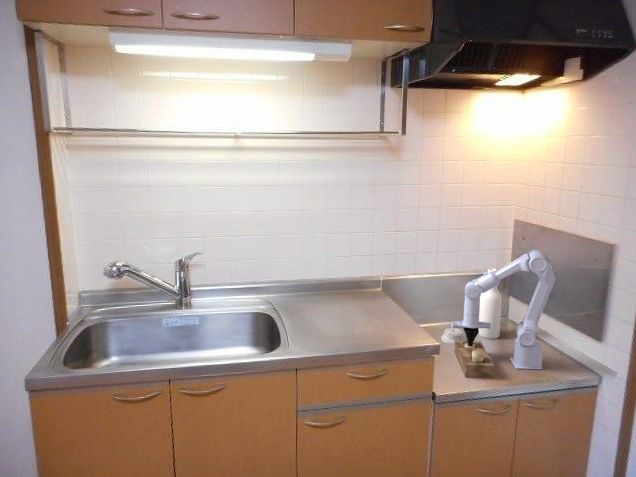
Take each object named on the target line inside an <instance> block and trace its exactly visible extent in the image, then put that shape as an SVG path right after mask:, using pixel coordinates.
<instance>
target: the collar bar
mask: <svg viewBox="0 0 636 477" xmlns="http://www.w3.org/2000/svg"><path fill="white" fill-rule="evenodd" d="M465 343H467V340H465V341H455V345H454V349H453V350H454V355H455V357H456V359H457V362H458V364H459V367H460V369H461V370H462V373H463V375H464V377H465V378H468V379H472V378H473V379H480V378H481V379H495V366H496V365H495V364H494V362H493V360H492V358H491V357H490V355H489V354H488V352H487V350H486V348H485V347H484V345H483V343H482V341H481V340H474V342H473V344H475V348H465ZM473 350H480V351H483V352H484V358H483V363H473V362H472V351H473Z"/></svg>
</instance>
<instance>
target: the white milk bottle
mask: <svg viewBox="0 0 636 477" xmlns="http://www.w3.org/2000/svg"><path fill="white" fill-rule="evenodd" d="M498 270H499V269H497V268H493V267H492V268H488V269H487V271H486V272H487V273H488V272H497V271H498ZM479 301H480V311H479V322H487V323H490V324H491V329H487V328H478V330H479V333H478V335H479V337H481V338H482V339H483V338H484V339H487V340H496V339H498V338H499V337H500V332H501V330H500V329H501V315H502V303H503V298H502V294H501V293H500V292H499V289H498V285H497V286H496V287H494V288H492V289H490V290H488V291H486V292H485V293H481V296H480V297H479Z"/></svg>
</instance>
